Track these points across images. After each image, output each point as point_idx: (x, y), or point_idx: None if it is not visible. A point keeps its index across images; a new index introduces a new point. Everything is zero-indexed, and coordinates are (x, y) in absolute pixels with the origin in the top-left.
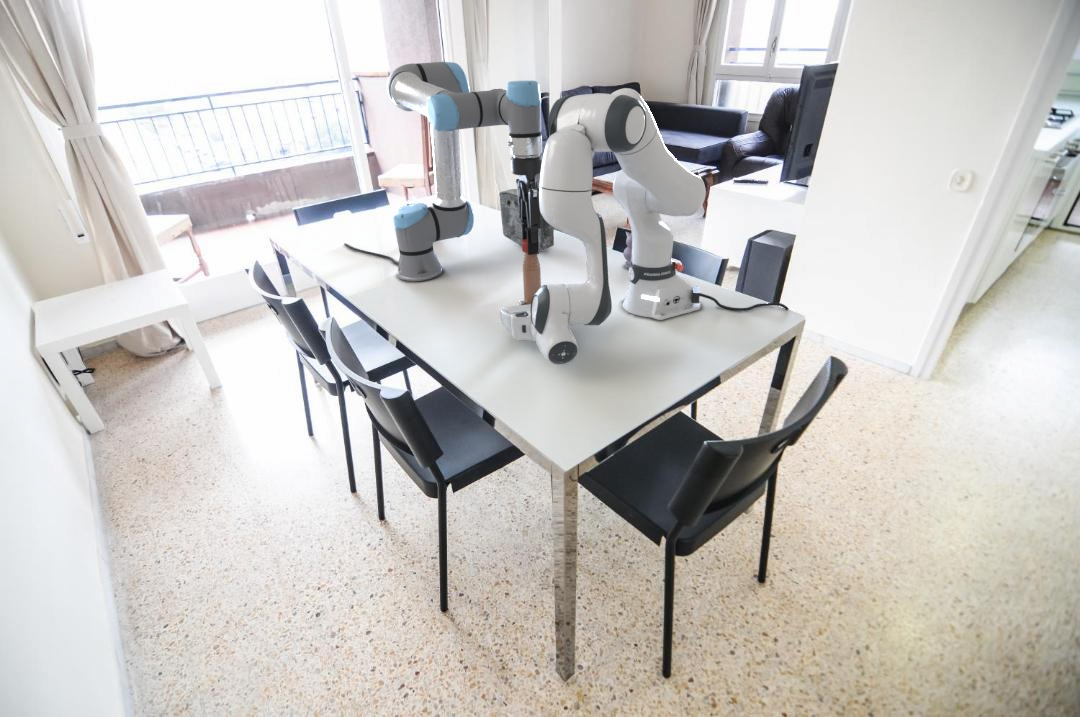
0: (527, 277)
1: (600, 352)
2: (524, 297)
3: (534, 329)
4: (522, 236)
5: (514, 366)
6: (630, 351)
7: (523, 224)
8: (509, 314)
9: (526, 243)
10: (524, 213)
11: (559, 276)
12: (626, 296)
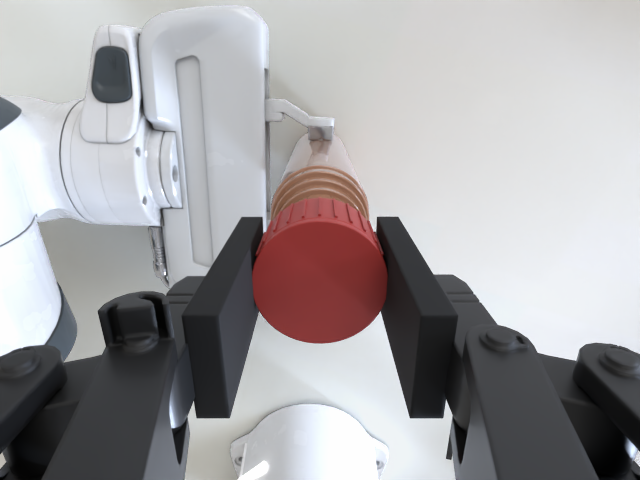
0: (287, 172)
1: (108, 274)
2: (319, 142)
3: (56, 106)
4: (410, 252)
5: (66, 18)
6: (102, 336)
7: (425, 329)
8: (157, 28)
9: (268, 242)
10: (480, 465)
11: (611, 330)
12: (325, 434)
